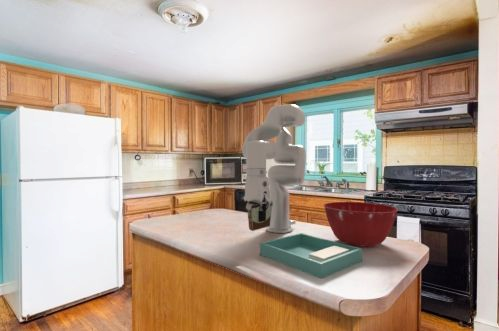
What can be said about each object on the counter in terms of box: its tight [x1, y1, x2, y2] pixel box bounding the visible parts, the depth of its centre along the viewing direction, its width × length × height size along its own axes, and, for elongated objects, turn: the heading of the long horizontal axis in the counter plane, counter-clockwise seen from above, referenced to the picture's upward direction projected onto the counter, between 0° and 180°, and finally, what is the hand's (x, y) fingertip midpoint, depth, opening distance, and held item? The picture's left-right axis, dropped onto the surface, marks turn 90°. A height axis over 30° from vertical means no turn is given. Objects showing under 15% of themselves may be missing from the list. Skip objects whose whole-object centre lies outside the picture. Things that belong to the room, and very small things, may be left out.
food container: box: [245, 200, 273, 232], centre depth 110 cm, size 12×6×10 cm, turn 132°
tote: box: [259, 232, 363, 279], centre depth 97 cm, size 22×26×5 cm
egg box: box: [308, 246, 349, 262], centre depth 90 cm, size 14×6×4 cm, turn 129°
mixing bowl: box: [322, 201, 399, 249], centre depth 117 cm, size 28×28×15 cm
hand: (256, 219), depth 110 cm, fingers closed on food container, 5 cm apart
